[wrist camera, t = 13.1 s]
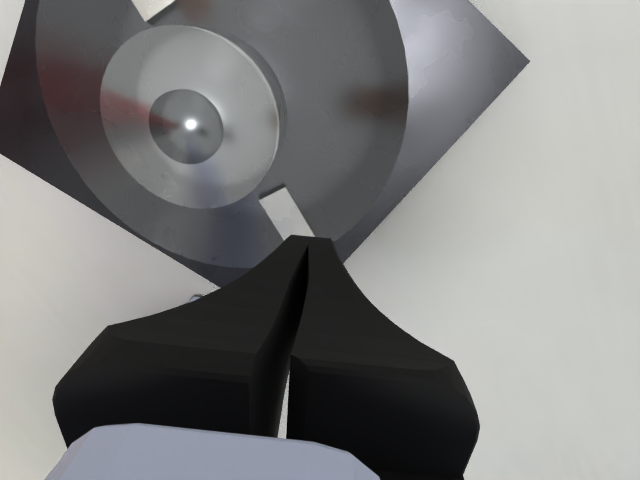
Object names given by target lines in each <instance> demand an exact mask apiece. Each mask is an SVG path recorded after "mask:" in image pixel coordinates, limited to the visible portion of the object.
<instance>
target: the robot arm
mask: <svg viewBox="0 0 640 480" xmlns="http://www.w3.org/2000/svg"><path fill="white" fill-rule="evenodd" d="M289 370H290V376H289V396H288V415H287V434H286V439H282V438H277V437H278V430H279V424H280V417H281V411H282V405H283V398H284V392H285V387H286V383H287V378H288V374H289ZM52 401H53V406H54V412H55V416H56V419H57V422H58V424H59V427H60V430H61V432H62V435H63V438H64V440H65V443H66V446H67V451H66V452H65V454H64V455H63V457H62V458H61V459H60V461H59V462H58V464H57V465H56V466H55V467H54V469H53V470H52V471H51V472H50V474H49V475H48V476H47V477H46V479H45V480H464V478H463V474H464V471H465V469H466V466H467V464H468V462H469V459H470V457H471V454H472V452H473V450H474V447H475V445H476V442H477V439H478V435H479V430H480V424H479V419H478V415H477V411H476V408H475V406H474V403H473V400H472V397H471V395H470V392H469V390H468V388H467V386H466V384H465V382H464V380H463V378H462V376H461V374H460V372H459V370H458V368H457V366H456V364H455V362H454V361H453V360H451V359H450V358H448V357H446V356H444V355H442V354H441V353H439V352H437V351H435V350H434V349H432V348H430V347H428V346H426V345H425V344H423V343H421V342H420V341H418V340H417V339H415V338H414V337H412V336H411V335H409V334H408V333H406V332H405V331H403V330H402V329H401V328H399V327H398V326H397V325H395V324H394V323H393V322H392V321H390V320H389V319H388V318H387V317H386V316H385V315H384V314H382V313H381V312H380V311H379V310H378V309H377V308H376V307H375V306H374V305H373V304H372V303H371V302H370V301H369V300H368V299H367V298H366V297H365V295H364V294H363V293H362V292H361V290H360V289H359V288H358V286H357V285H356V284H355V282H354V281H353V279H352V278H351V276H350V275H349V273H348V272H347V270H346V268H345V267H344V265H343V263H342V261H341V259H340V257H339V255H338V253H337V251H336V248H335V245H334V242H333V241H332V239H331V238H322V237H312V236H301V235H290V236H289V237H287V238H286V239H285V240H284V241H283V242H282V243H281V244H280V245H279V246H278V247H277V248H276V249H275V250H274V251H273V252H272V253H271V254H269V255H268V256H267V257H266V258H265V259H264V260H262V261H261V262H260V263H259V264H258V265H256V266H255V267H253V268H252V269H251V270H249V271H248V272H247V273H245V274H244V275H243V276H241V277H239V278H238V279H236V280H235V281H233V282H231V283H229V284H227V285H226V286H224V287H222V288H220V289H218V290H216V291H214V292H212V293H210V294H207V295H205V296H203V297H193V298H192V299H191V300H190V301H189V303H187V304H184V305H181V306H179V307H176V308H173V309H170V310H167V311H164V312H161V313H157V314H154V315H150V316H147V317H143V318H139V319H135V320H131V321H127V322H123V323H119V324H114V325H109V326H107V327H106V328H105V329H104V330H103V331H102V332H101V333H100V334H99V336H98V337H97V338H96V339H95V340H94V341H93V342H92V343H91V344H90V345H89V347H88V348H87V349H86V350H85V351H84V353H83V354H82V355H81V356H80V357H79V359H78V360H77V361H76V362H75V363H74V365H73V366H72V367H71V368H70V369H69V371H68V372H67V373H66V374H65V375H64V377H63V378H62V379H61V380H60V382H59V383H58V384H57V385H56V387H55V391H54V395H53V399H52Z"/></svg>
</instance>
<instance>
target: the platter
mask: <svg viewBox="0 0 640 480" xmlns="http://www.w3.org/2000/svg"><path fill="white" fill-rule="evenodd" d="M164 25H181V26H191V27H200V28H210V29H216V30H220V31H224V32H227V33H229V34H232V35H234V36H236V37H238V38H240V39H242V40H244V41H245V42H247V43H248V44H249V45H251V46H252V47H253V48H254V49H256V50H257V51H258V52H259V53H260V54H261V55H262V56H263V57H264V59H265V60H266V61H267V62H268V64H269V65H270V66H271V68H272V69H273V71H274V73H275V74H276V76H277V78H278V80H279V82H280V84H281V87H282V90H283V93H284V96H285V101H286V106H287V129H286V135H285V139H284V142H283V145H282V147H281V150H280V152H279V154H278V155H277V157H276V159H275V160H274V162H273V163H272V165H271V167H270V168H269V170H268V171H267V173H266V174H265V176H264V177H263V179H262V181H261V182H260V183H259V184H258V185H257V186H256V188H255V189H254V190H252V191H251V192H250V193H249V194H248V195H246V196H245V197H243V198H241V199H240V200H238V201H236V202H234V203H231V204H229V205H225V206H222V207H217V208H210V209H198V208H189V207H185V206H180V205H177V204H174V203H171V202H169V201H166V200H164V199H162V198H160V197H158V196H157V195H155V194H153V193H152V192H150V191H149V190H147V189H146V188H145V187H143V186H142V185H141V184H140V183H138V182H137V181H136V180H135V179H134V178H133V177H132V176H131V175H130V174H129V173H128V171H127V170H126V169H125V168H124V167H123V165H122V164H121V162H120V161H119V160H118V158H117V157H116V155H115V153H114V151H113V149H112V148H111V146H110V143H109V141H108V139H107V136H106V133H105V130H104V127H103V123H102V117H101V111H100V92H101V85H102V80H103V76H104V73H105V71H106V68H107V65H108V64H109V62H110V60H111V58H112V57H113V55H114V54H115V53H116V51H117V50H118V49H119V48H120V46H122V45H123V44H124V43H125V42H126V41H127V40H128V39H130V38H131V37H133V36H134V35H136V34H138V33H140V32H142V31H144V30H147V29H149V28H153V27H158V26H164ZM35 46H36V60H37V71H38V76H39V81H40V86H41V92H42V96H43V99H44V103H45V106H46V109H47V112H48V116H49V119H50V121H51V124H52V126H53V128H54V131H55V133H56V135H57V138H58V140H59V142H60V144H61V146H62V148H63V149H64V151H65V153H66V155H67V157H68V158H69V160H70V162H71V164H72V165H73V167H74V168H75V170H76V171H77V172H78V174H79V175H80V177H81V178H82V180H83V181H84V182H85V184H86V185H87V186H88V187H89V188H90V190H91V191H92V192H93V193H94V194H95V196H96V197H97V198H98V199H99V200H100V201H101V202H102V203H103V204H104V205H105V206H106V207H107V208H108V209H109V210H110V211H111V212H112V213H113V214H114V215H115V216H116V217H117V218H119V219H120V220H121V221H123V222H124V223H125V224H126V225H128V226H129V227H130V228H131V229H133V230H134V231H135V232H137V233H139V234H140V235H142V236H143V237H145V238H146V239H148V240H150V241H151V242H153V243H155V244H157V245H159V246H161V247H163V248H165V249H167V250H169V251H171V252H173V253H176V254H178V255H181V256H183V257H186V258H189V259H192V260H196V261H199V262H203V263H207V264H212V265H218V266H224V267H236V268H253V267H255V266H256V265H258V264H259V263H260V262H261V261H262V260H264V259H265V258H266V257H267V256H268V255H269V254H271V253H272V252H273V251H274V250H275V249H276V248H277V247H278V246H279V245H280V244H281V243H282V242H283V241H284V240H285V239H286V238H287V237H289V236H290V235H301V236H312V237H322V238H331V239H332V241H333V242H334V241H336V240H337V239H339V238H340V237H341V236H342V235H344V234H345V233H346V232H347V231H349V230H350V229H351V228H352V227H353V226H355V224H356V223H357V222H358V221H359V220H360V219H361V218H362V217H363V216H364V215H365V214H366V213H367V212H368V211H369V209H370V208H371V206H372V205H373V204H374V202H375V201H376V200H377V198H378V197H379V195H380V194H381V192H382V190H383V189H384V187H385V185H386V183H387V181H388V179H389V178H390V176H391V174H392V171H393V169H394V166H395V163H396V161H397V158H398V156H399V153H400V150H401V145H402V141H403V137H404V133H405V129H406V122H407V113H408V104H409V88H408V69H407V62H406V55H405V48H404V44H403V40H402V36H401V33H400V29H399V25H398V21H397V18H396V16H395V13H394V11H393V8H392V6H391V3H390V1H389V0H40V1H39V6H38V11H37V19H36V38H35Z"/></svg>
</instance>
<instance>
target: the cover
mask: <svg viewBox="0 0 640 480" xmlns="http://www.w3.org/2000/svg"><path fill="white" fill-rule="evenodd" d="M100 111H101V117H102V123H103V127H104V130H105V133H106V136H107V139H108V141H109V143H110V146H111V148H112V149H113V151H114V153H115V155H116V157H117V158H118V160H119V161H120V162H121V164H122V165H123V167H124V168H125V169H126V170H127V171H128V173H129V174H130V175H131V176H132V177H133V178H134V179H135V180H136V181H137V182H138V183H140V184H141V185H142V186H143V187H145V188H146V189H147V190H149V191H150V192H152V193H153V194H155V195H157V196H158V197H160V198H162V199H164V200H166V201H169V202H171V203H174V204H177V205H180V206H185V207H189V208H198V209H210V208H217V207H222V206H225V205H229V204H231V203H234V202H236V201H238V200H240V199H241V198H243V197H245V196H246V195H248V194H249V193H250V192H251V191H252V190H254V189H255V188H256V186H257V185H258V184H259V183H260V182H261V181H262V179H263V177H264V176H265V174H266V173H267V171H268V170H269V168H270V167H271V165H272V163H273V162H274V160H275V159H276V157H277V155H278V154H279V152H280V150H281V147H282V145H283V142H284V139H285V135H286V129H287V106H286V101H285V96H284V93H283V90H282V87H281V84H280V82H279V80H278V78H277V76H276V74H275V73H274V71H273V69H272V68H271V66H270V65H269V64H268V62H267V61H266V60H265V59H264V57H263V56H262V55H261V54H260V53H259V52H258V51H257V50H256V49H254V48H253V47H252V46H251V45H249V44H248V43H247V42H245V41H244V40H242V39H240V38H238V37H236V36H234V35H232V34H229V33H227V32H224V31H220V30H216V29H210V28H200V27H191V26H181V25H164V26H158V27H153V28H149V29H147V30H144V31H142V32H140V33H138V34H136V35H134V36H133V37H131V38H130V39H128V40H127V41H126V42H125V43H124V44H123V45H122V46H120V48H119V49H118V50H117V51H116V53H115V54H114V55H113V57H112V58H111V60H110V62H109V64H108V65H107V68H106V71H105V73H104V76H103V80H102V85H101V92H100Z"/></svg>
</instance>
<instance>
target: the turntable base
mask: <svg viewBox="0 0 640 480" xmlns="http://www.w3.org/2000/svg"><path fill="white" fill-rule="evenodd" d="M39 1H40V0H25V4H24V7H23V10H22V14H21V17H20V21H19V24H18V27H17V31H16V34H15V38H14V41H13V44H12V48H11V51H10V55H9V58H8V62H7V65H6V68H5V72H4V75H3V79H2V82H1V85H0V154H2V155H3V156H5V157H7V158H8V159H10V160H12V161H13V162H15V163H17V164H18V165H20V166H22V167H23V168H25V169H26V170H28V171H30V172H31V173H33V174H35V175H36V176H38V177H40V178H41V179H43V180H45V181H46V182H48V183H49V184H51V185H53V186H54V187H56V188H58V189H59V190H61V191H63V192H64V193H66V194H68V195H69V196H71V197H72V198H74V199H76V200H77V201H79V202H81V203H82V204H84V205H86V206H87V207H89V208H91V209H92V210H94V211H95V212H97V213H99V214H100V215H102V216H104V217H105V218H107V219H109V220H110V221H112V222H114V223H115V224H117V225H119V226H120V227H122V228H123V229H125V230H127V231H128V232H130V233H132V234H133V235H135V236H137V237H138V238H140V239H142V240H143V241H145V242H146V243H148V244H150V245H151V246H153V247H155V248H156V249H158V250H160V251H161V252H163V253H165V254H166V255H168V256H169V257H171V258H173V259H174V260H176V261H178V262H179V263H181V264H183V265H184V266H186V267H188V268H189V269H191V270H192V271H194V272H196V273H197V274H199V275H201V276H202V277H204V278H206V279H207V280H209V281H211V282H212V283H214V284H216V285H217V286H219V287H220V288H222V287H224V286H226V285H227V284H229V283H231V282H233V281H235V280H236V279H238V278H239V277H241V276H243V275H244V274H245V273H247V272H248V271H249V270H251V269H252V268H236V267H224V266H218V265H212V264H207V263H203V262H199V261H196V260H192V259H189V258H186V257H183V256H181V255H178V254H176V253H173V252H171V251H169V250H167V249H165V248H163V247H161V246H159V245H157V244H155V243H153V242H151V241H150V240H148V239H146V238H145V237H143V236H142V235H140V234H139V233H137V232H135V231H134V230H133V229H131V228H130V227H129V226H128V225H126V224H125V223H124V222H123V221H121V220H120V219H119V218H117V217H116V216H115V215H114V214H113V213H112V212H111V211H110V210H109V209H108V208H107V207H106V206H105V205H104V204H103V203H102V202H101V201H100V200H99V199H98V198H97V197H96V196H95V194H94V193H93V192H92V191H91V190H90V188H89V187H88V186H87V185H86V184H85V182H84V181H83V180H82V178H81V177H80V175H79V174H78V172H77V171H76V170H75V168H74V167H73V165H72V164H71V162H70V160H69V158H68V157H67V155H66V153H65V151H64V149H63V148H62V146H61V144H60V142H59V140H58V138H57V135H56V133H55V131H54V128H53V126H52V124H51V121H50V119H49V116H48V112H47V109H46V106H45V103H44V99H43V96H42V92H41V86H40V81H39V76H38V71H37V60H36V46H35V38H36V19H37V11H38V6H39ZM389 1H390V3H391V6H392V8H393V11H394V13H395V16H396V18H397V21H398V25H399V29H400V33H401V36H402V40H403V44H404V48H405V55H406V62H407V69H408V88H409V104H408V113H407V122H406V129H405V133H404V137H403V141H402V145H401V150H400V153H399V156H398V158H397V161H396V163H395V166H394V169H393V171H392V174H391V176H390V178H389V179H388V181H387V183H386V185H385V187H384V189H383V190H382V192H381V194H380V195H379V197H378V198H377V200H376V201H375V202H374V204H373V205H372V206H371V208H370V209H369V211H368V212H367V213H366V214H365V215H364V216H363V217H362V218H361V219H360V220H359V221H358V222H357V223H356V224H355V226H353V227H352V228H351V229H350V230H349V231H347V232H346V233H345V234H344V235H342V236H341V237H340V238H339V239H337V240H336V241H334V245H335V248H336V251H337V253H338V255H339V257H340V259H341V261H342V263H344V262H345V261H346V260H347V259H348V257H349V256H350V255H351V254H352V253H353V252H354V251H355V250H356V249H357V248H358V247H359V246H360V244H361V243H362V242H363V241H364V240H365V239H366V238H367V237H368V236H369V235H370V234H371V233H372V232H373V230H374V229H375V228H376V227H377V226H378V225H379V224H380V223H381V222H382V221H383V220H384V219H385V217H386V216H387V215H388V214H389V213H390V212H391V211H392V210H393V209H394V208H395V207H396V206H397V205H398V203H399V202H400V201H401V200H402V199H403V198H404V197H405V196H406V195H407V194H408V193H409V192H410V190H411V189H412V188H413V187H414V186H415V185H416V184H417V183H418V182H419V181H420V180H421V179H422V178H423V176H424V175H425V174H426V173H427V172H428V171H429V170H430V169H431V168H432V167H433V166H434V165H435V164H436V162H437V161H438V160H439V159H440V158H441V157H442V156H443V155H444V154H445V153H446V152H447V151H448V149H449V148H450V147H451V146H452V145H453V144H454V143H455V142H456V141H457V140H458V139H459V138H460V137H461V135H462V134H463V133H464V132H465V131H466V130H467V129H468V128H469V127H470V126H471V125H472V124H473V122H474V121H475V120H476V119H477V118H478V117H479V116H480V115H481V114H482V113H483V112H484V111H485V110H486V108H487V107H488V106H489V105H490V104H491V103H492V102H493V101H494V100H495V99H496V98H497V97H498V95H499V94H500V93H501V92H502V91H503V90H504V89H505V88H506V87H507V86H508V85H509V84H510V83H511V81H512V80H513V79H514V78H515V77H516V76H517V75H518V74H519V73H520V72H521V71H522V70H523V69H524V67H525V66H526V65H527V64H528V63H529V62H530V61H529V60H528V59H527V58H526V57H525V56H524V55H523V54H522V53H521V52H520V51H519V50H518V49H517V48H516V47H515V46H514V45H513V44H512V43H511V42H510V41H509V40H508V39H507V38H506V37H505V36H504V35H503V34H502V33H501V32H500V31H499V30H498V29H497V28H496V27H495V26H494V25H493V24H492V23H491V22H490V21H489V20H488V19H487V18H486V17H485V16H484V15H483V14H482V13H481V12H480V11H479V10H477V9H476V8H475V7H474V6H473V5H472V4H471V3H470V2H469V1H468V0H389Z"/></svg>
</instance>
